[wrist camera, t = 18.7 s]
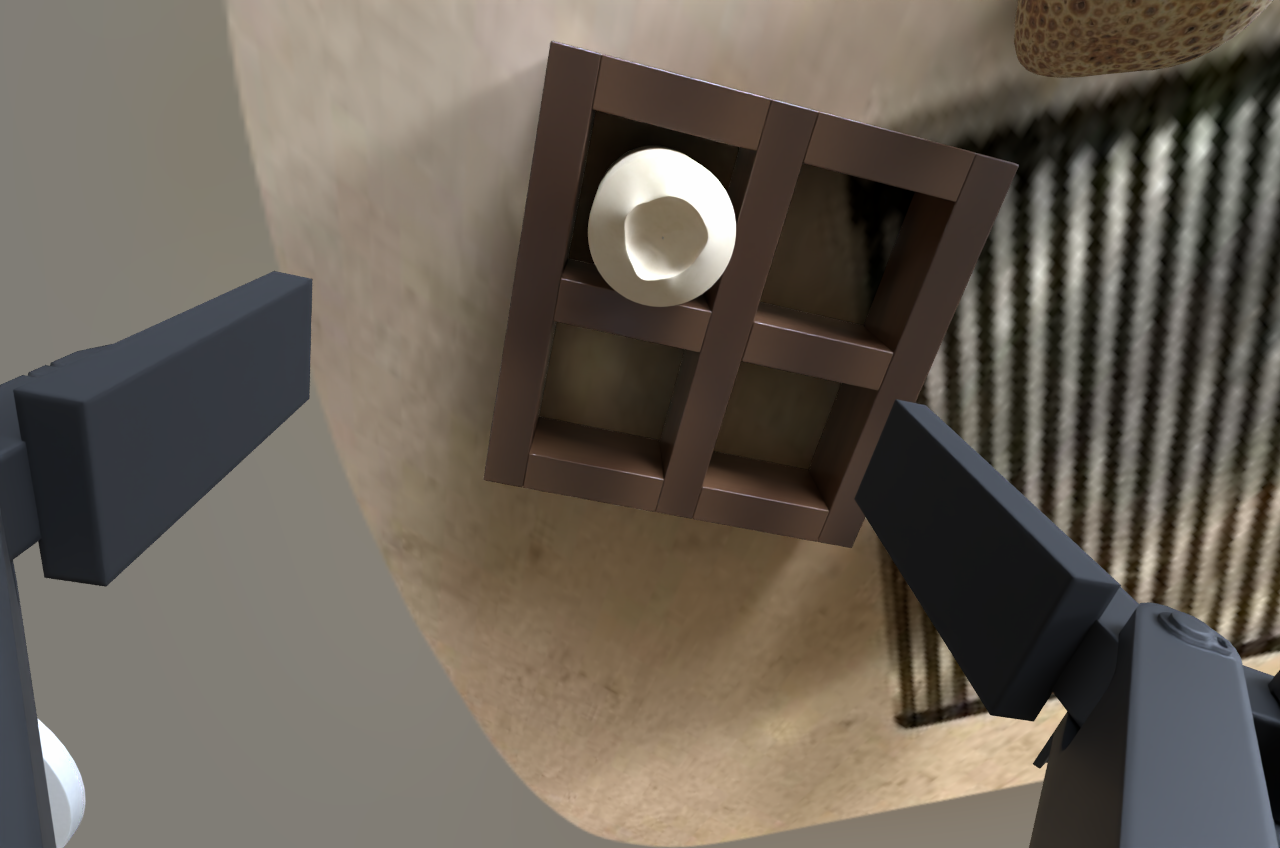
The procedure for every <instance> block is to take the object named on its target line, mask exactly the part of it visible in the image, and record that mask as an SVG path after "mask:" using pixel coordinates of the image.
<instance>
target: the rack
mask: <svg viewBox="0 0 1280 848" xmlns="http://www.w3.org/2000/svg"><path fill="white" fill-rule="evenodd" d="M595 111H600V112H604V113H608V114H611V115H615V116H619V117H623V118H627V119H631V120H635V121H639V122H643V123H647V124H651V125H655V126H659V127H663V128H667V129H670V130H674V131H678V132H682V133H686V134H690V135H694V136H698V137H702V138H706V139H710V140H714V141H718V142H722V143H725V144H729V145H733V146H737V147H740V148H739V151H738V155H737V159H736V162H735V166H734V170H733V173H732V177H731V181H730V184H729V188H728V192H727V194H728V196H729V198H730V201H731V203H732V206H733V210H734V214H735V221H736V238H735V245H734V249H733V253H732V256H731V258H730V261H729V263H728V265H727V267H726V269H725V270H724V272H723V273H722V275H721V276H720V278H719V279H718V280H717V281H716V282H715V283H714V284H713V285H712V286H711V287H710V288H709V289H708V290H707V291H705V292H704V293H703V294H701V295H700V296H698V297H696V298H694V299H692V300H690V301H688V302H685V303H682V304H679V305H674V306H667V307H655V306H647V305H642V304H639V303H636V302H633V301H631V300H629V299H627V298H625V297H624V296H622V295H621V294H619V293H618V292H616V291H615V290H614V289H613V288H612V287H611V286H610V285H609V284H608V283H607V282H606V281H605V280H604V279H603V277H602V276H601V274H600V273H599V271H598V269H597V267H596V265H595V264H591V263H587V262H582V261H578V260H573V259H568V257H569V252H570V247H571V241H572V236H573V230H574V225H575V220H576V214H577V209H578V203H579V198H580V193H581V187H582V182H583V176H584V171H585V166H586V160H587V155H588V149H589V144H590V138H591V133H592V128H593V122H594V117H595ZM803 163H804V164H808V165H812V166H816V167H820V168H824V169H828V170H832V171H836V172H840V173H843V174H847V175H851V176H855V177H859V178H863V179H867V180H871V181H875V182H879V183H883V184H887V185H891V186H895V187H899V188H902V189H906V190H910V191H914V192H915V193H914V195H913V198H912V201H911V203H910V206H909V208H908V211H907V214H906V216H905V219H904V222H903V224H902V227H901V229H900V232H899V235H898V237H897V240H896V242H895V245H894V248H893V250H892V253H891V255H890V258H889V261H888V263H887V266H886V269H885V271H884V274H883V276H882V279H881V282H880V284H879V287H878V289H877V292H876V295H875V297H874V300H873V303H872V305H871V308H870V310H869V313H868V316H867V318H866V321H865V323H864V326H863V325H859V324H855V323H850V322H846V321H842V320H837V319H833V318H828V317H824V316H820V315H815V314H811V313H806V312H802V311H798V310H793V309H789V308H784V307H780V306H776V305H771V304H767V303H762V302H760V299H761V295H762V292H763V289H764V286H765V283H766V279H767V276H768V273H769V270H770V266H771V263H772V260H773V257H774V254H775V250H776V247H777V244H778V241H779V238H780V234H781V231H782V228H783V225H784V221H785V218H786V215H787V212H788V209H789V205H790V202H791V199H792V196H793V193H794V189H795V186H796V183H797V180H798V176H799V173H800V170H801V167H802V164H803ZM1018 167H1019V165H1018V164H1016V163H1012V162H1009V161H1005V160H1001V159H997V158H993V157H990V156H986V155H982V154H978V153H975V152H971V151H967V150H963V149H960V148H956V147H952V146H948V145H945V144H941V143H937V142H933V141H929V140H926V139H922V138H918V137H914V136H911V135H907V134H903V133H899V132H895V131H892V130H888V129H884V128H880V127H877V126H873V125H869V124H865V123H861V122H858V121H854V120H850V119H846V118H843V117H839V116H835V115H831V114H827V113H824V112H818V111H816V110H812V109H808V108H805V107H801V106H797V105H793V104H789V103H786V102H782V101H778V100H774V99H770V98H767V97H763V96H759V95H755V94H752V93H748V92H744V91H740V90H737V89H733V88H729V87H725V86H721V85H718V84H714V83H710V82H706V81H703V80H699V79H695V78H691V77H687V76H684V75H680V74H676V73H672V72H669V71H665V70H661V69H657V68H653V67H650V66H646V65H642V64H638V63H635V62H631V61H627V60H623V59H619V58H616V57H612V56H608V55H604V54H603V55H601V54H600V53H597V52H593V51H589V50H585V49H582V48H578V47H574V46H570V45H566V44H563V43H559V42H555V41H551V43H550V49H549V56H548V62H547V69H546V75H545V82H544V88H543V95H542V101H541V108H540V114H539V121H538V127H537V134H536V141H535V147H534V154H533V160H532V167H531V173H530V180H529V186H528V193H527V199H526V206H525V212H524V219H523V225H522V232H521V238H520V245H519V251H518V258H517V264H516V271H515V277H514V284H513V290H512V297H511V303H510V310H509V316H508V323H507V329H506V336H505V342H504V349H503V355H502V362H501V368H500V375H499V382H498V388H497V395H496V401H495V408H494V414H493V421H492V427H491V434H490V440H489V447H488V453H487V460H486V466H485V473H484V480H486V481H491V482H497V483H502V484H507V485H513V486H518V487H523V488H528V489H534V490H539V491H544V492H550V493H555V494H561V495H566V496H571V497H577V498H582V499H588V500H593V501H598V502H604V503H609V504H615V505H620V506H625V507H631V508H636V509H642V510H647V511H652V512H659V513H664V514H669V515H675V516H680V517H686V518H693V519H696V520H702V521H707V522H712V523H718V524H723V525H729V526H734V527H739V528H745V529H750V530H756V531H761V532H766V533H772V534H777V535H783V536H788V537H793V538H799V539H804V540H810V541H815V542H817V541H818V542H821V543H827V544H832V545H837V546H843V547H848V548H852V546H853V544H854V542H855V539H856V537H857V535H858V532H859V530H860V528H861V526H862V523H863V521H864V519H865V515H864V514H863V512H862V511H861V509H860V507H859V506H858V504H857V503H856V501H855V500H854V498H855V496H856V494H857V491H858V489H859V486H860V484H861V481H862V479H863V477H864V474H865V472H866V469H867V467H868V465H869V462H870V460H871V457H872V455H873V452H874V450H875V448H876V445H877V443H878V440H879V438H880V435H881V433H882V431H883V428H884V426H885V423H886V421H887V419H888V416H889V414H890V411H891V409H892V406H893V404H894V402H895V399H897V400H902V401H907V402H912V403H915V402H916V400H917V398H918V395H919V393H920V391H921V388H922V386H923V384H924V382H925V379H926V377H927V375H928V372H929V370H930V368H931V366H932V363H933V361H934V359H935V356H936V354H937V352H938V350H939V347H940V345H941V343H942V340H943V338H944V336H945V334H946V331H947V329H948V327H949V324H950V322H951V320H952V318H953V315H954V313H955V311H956V308H957V306H958V304H959V302H960V299H961V297H962V295H963V292H964V290H965V288H966V286H967V283H968V281H969V279H970V276H971V274H972V272H973V270H974V267H975V265H976V263H977V260H978V258H979V256H980V254H981V251H982V249H983V247H984V244H985V242H986V240H987V238H988V235H989V233H990V231H991V228H992V226H993V224H994V222H995V219H996V217H997V215H998V212H999V210H1000V208H1001V206H1002V203H1003V201H1004V199H1005V196H1006V194H1007V192H1008V190H1009V187H1010V185H1011V183H1012V180H1013V178H1014V176H1015V174H1016V171H1017V169H1018ZM556 322H560V323H565V324H570V325H574V326H579V327H583V328H588V329H593V330H597V331H602V332H607V333H611V334H616V335H621V336H625V337H630V338H635V339H639V340H644V341H648V342H653V343H658V344H662V345H667V346H672V347H676V348H681V349H685V350H684V354H683V357H682V361H681V365H680V368H679V372H678V376H677V379H676V383H675V387H674V390H673V394H672V398H671V401H670V405H669V409H668V413H667V416H666V420H665V424H664V427H663V431H662V435H661V438H660V441H659V440H655V439H650V438H645V437H640V436H635V435H630V434H625V433H619V432H614V431H609V430H604V429H599V428H594V427H589V426H584V425H579V424H574V423H569V422H564V421H559V420H554V419H549V418H544V417H539V414H540V409H541V403H542V398H543V393H544V387H545V382H546V376H547V371H548V366H549V360H550V355H551V349H552V344H553V339H554V333H555V328H556ZM741 361H743V362H747V363H752V364H756V365H761V366H765V367H770V368H775V369H779V370H784V371H789V372H793V373H798V374H803V375H807V376H812V377H817V378H821V379H826V380H830V381H835V382H840V383H842V384H841V386H840V389H839V391H838V394H837V397H836V399H835V402H834V404H833V407H832V410H831V412H830V415H829V417H828V420H827V423H826V425H825V428H824V431H823V433H822V436H821V438H820V441H819V444H818V446H817V449H816V451H815V454H814V457H813V459H812V462H811V465H810V467H809V470H806V469H801V468H796V467H791V466H786V465H781V464H776V463H771V462H766V461H761V460H755V459H750V458H745V457H740V456H735V455H730V454H725V453H720V452H715V451H713V450H714V447H715V443H716V440H717V437H718V434H719V430H720V427H721V424H722V421H723V418H724V414H725V411H726V408H727V405H728V402H729V398H730V395H731V392H732V389H733V385H734V382H735V379H736V376H737V373H738V369H739V366H740V363H741Z"/></svg>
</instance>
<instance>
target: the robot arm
mask: <svg viewBox="0 0 1280 848" xmlns="http://www.w3.org/2000/svg"><path fill="white" fill-rule="evenodd" d="M311 314H312V279H310V278H305V277H300V276H296V275H291V274H286V273H281V272H276V271H273V272H271V273H269V274H267V275H265V276H262V277H260V278H258V279H256V280H253V281H251V282H249V283H247V284H245V285H242V286H240V287H238V288H236V289H234V290H232V291H229V292H227V293H225V294H223V295H220V296H218V297H216V298H214V299H211V300H209V301H207V302H205V303H203V304H201V305H198V306H196V307H194V308H192V309H189V310H187V311H185V312H183V313H181V314H178V315H176V316H174V317H172V318H170V319H167V320H165V321H163V322H161V323H159V324H156V325H154V326H152V327H150V328H148V329H145V330H144V331H141V332H139V333H137V334H134V335H132V336H130V337H128V338H125V339H123V340H121V341H119V342H117V343H115V344H110V345H105V346H101V347H95V348H90V349H86V350H81V351H77V352H74V353H72V354H70V355H67V356H65V357H63V358H61V359H58V360H56V361H54V362H52V363H51V365H50V366H47V365H45V366H42V367H40V368H38V369H35V370H33V371H31V372H29V373H28V376H25V375H22V376H19V377H17V378H15V379H12V380H10V381H8V382H6V383H3V384H1V385H0V848H56V842H55V835H54V828H53V821H52V815H51V808H50V801H49V794H48V788H47V781H46V774H45V768H44V761H43V754H42V747H41V741H40V734H39V727H38V720H37V714H36V707H35V701H34V693H33V687H32V680H31V673H30V667H29V660H28V653H27V646H26V640H25V633H24V626H23V619H22V613H21V606H20V599H19V592H18V586H17V580H16V574H15V570H14V564H13V559H14V558H16V557H17V556H18V555H20V554H21V553H23V552H24V551H25V550H27V549H28V548H29V547H31V546H32V545H33V544H35V543H36V542H37V541H38V542H39V548H40V554H41V559H42V565H43V571H44V577H45V578H51V579H59V580H65V581H72V582H79V583H86V584H92V585H99V586H107V585H108V584H109V583H110V582H111V581H113V580H114V579H115V578H116V577H117V576H118V575H119V574H120V573H121V572H122V571H123V570H124V569H125V568H127V566H129V565H130V564H131V563H132V562H133V561H134V560H135V559H136V558H137V557H139V556H140V555H141V554H142V553H143V552H144V551H145V550H146V549H147V548H148V547H149V546H150V545H151V544H152V543H154V542H155V541H156V540H157V539H158V538H159V537H160V536H161V535H162V534H163V533H164V532H166V531H167V530H168V529H169V528H170V527H171V526H172V525H173V524H174V523H175V522H176V521H177V520H178V519H180V518H181V517H182V516H183V515H184V514H185V513H186V512H187V511H188V510H189V509H190V508H191V507H192V506H194V505H195V504H196V503H197V502H198V501H199V500H200V499H201V498H202V497H203V496H204V495H206V494H207V493H208V492H209V491H210V490H211V489H212V488H213V487H214V486H215V485H216V484H217V483H218V482H220V481H221V480H222V479H223V478H224V477H225V476H226V475H227V474H228V473H229V472H230V471H232V470H233V469H234V468H235V467H236V466H237V465H238V464H239V463H240V462H241V461H242V460H243V459H244V458H246V456H248V455H249V454H250V453H251V452H252V451H253V450H254V449H255V448H256V447H257V446H258V445H259V444H261V443H262V442H263V441H264V440H265V439H266V438H267V437H268V436H269V435H270V434H271V433H273V432H274V431H275V430H276V429H277V428H278V427H279V426H280V425H281V424H282V423H283V422H284V421H286V420H287V419H288V418H289V417H290V416H291V415H292V414H293V413H294V412H295V411H296V410H297V409H298V408H299V407H301V406H302V405H303V404H304V403H305V402H306V401H307V400H308V399H309V389H310V388H309V387H310V352H311ZM854 500H855V501H856V503H857V504H858V506H859V507H860V509H861V511H862V512H863V514H864V515H865V517H866V519H867V520H868V522H869V523H870V525H871V526H872V528H873V530H874V531H875V533H876V534H877V536H878V538H879V539H880V541H881V542H882V544H883V546H884V547H885V549H886V550H887V552H888V553H889V555H890V557H891V558H892V560H893V561H894V563H895V565H896V566H897V568H898V569H899V571H900V572H901V574H902V576H903V577H904V579H905V580H906V582H907V584H908V585H909V587H910V588H911V590H912V591H913V593H914V595H915V596H916V598H917V599H918V601H919V603H920V604H921V606H922V607H923V609H924V610H925V612H926V614H927V615H928V617H929V618H930V620H931V622H932V623H933V625H934V626H935V628H936V630H937V631H938V633H939V634H940V636H941V637H942V639H943V641H944V642H945V644H946V645H947V647H948V649H949V650H950V652H951V653H952V655H953V656H954V658H955V660H956V661H957V663H958V664H959V666H960V668H961V669H962V671H963V672H964V674H965V675H966V677H967V679H968V680H969V682H970V683H971V685H972V687H973V688H974V690H975V691H976V693H977V694H978V696H979V698H980V699H981V701H982V702H983V704H984V706H985V707H986V709H987V710H988V712H989V714H990V715H993V716H1000V717H1007V718H1014V719H1021V720H1028V721H1034V720H1035V719H1036V717H1037V716H1038V714H1039V713H1040V711H1041V709H1042V708H1043V706H1044V705H1045V703H1046V702H1047V700H1048V699H1049V697H1050V695H1051V694H1052V692H1053V693H1054V694H1055V696H1056V697H1057V698H1058V699H1059V701H1060V702H1061V703H1062V705H1063V706H1064V707H1065V709H1066V710H1067V711H1068V712H1067V713H1066V715H1065V716H1064V718H1063V719H1062V721H1061V722H1060V724H1059V725H1058V727H1057V728H1056V730H1055V731H1054V733H1053V734H1052V736H1051V737H1050V739H1049V740H1048V742H1047V743H1046V745H1045V746H1044V748H1043V749H1042V751H1041V752H1040V754H1039V755H1038V757H1037V758H1036V760H1035V761H1034V763H1033V765H1035V766H1036V767H1038V768H1041V767H1042V766H1043V765H1044V764H1045V763H1048V764H1047V769H1046V773H1045V778H1044V782H1043V787H1042V791H1041V796H1040V800H1039V805H1038V809H1037V814H1036V819H1035V823H1034V828H1033V832H1032V837H1031V841H1030V846H1029V848H1280V670H1279V672H1278V673H1277V674H1276V675H1275V676H1272V675H1269V674H1266V673H1263V672H1260V671H1258V670H1255V669H1252V668H1249V667H1246V666H1243V665H1242V661H1241V658H1240V656H1239V654H1238V652H1237V651H1236V649H1235V648H1234V647H1233V646H1232V645H1231V643H1230V642H1229V641H1228V640H1227V639H1225V638H1224V637H1223V636H1221V635H1220V634H1218V633H1217V632H1215V631H1214V630H1213V629H1211V628H1210V627H1209V626H1208V625H1206V624H1205V623H1204V622H1202V621H1200V620H1199V619H1197V618H1195V617H1193V616H1191V615H1189V614H1186V613H1184V612H1180V611H1177V610H1175V609H1173V608H1170V607H1168V606H1164V605H1160V604H1155V603H1140V604H1138V603H1137V602H1136V601H1135V600H1134V599H1133V598H1132V597H1131V596H1130V595H1129V594H1128V593H1127V592H1125V591H1124V590H1123V589H1122V588H1121V587H1120V586H1121V585H1120V584H1119V583H1118V582H1117V581H1116V580H1115V579H1114V578H1112V577H1111V576H1110V575H1109V574H1108V573H1107V572H1106V571H1105V570H1104V569H1103V568H1102V567H1101V566H1099V565H1098V564H1097V563H1096V562H1095V561H1094V560H1093V559H1092V558H1091V557H1090V556H1089V555H1087V554H1086V553H1085V552H1084V551H1083V550H1082V549H1081V548H1080V547H1079V546H1078V545H1077V544H1076V543H1074V542H1073V541H1072V540H1071V539H1070V538H1069V537H1068V536H1067V535H1066V534H1065V533H1064V532H1063V531H1061V530H1060V529H1059V528H1058V527H1057V526H1056V525H1055V524H1054V523H1053V522H1052V521H1051V520H1050V519H1048V518H1047V517H1046V516H1045V515H1044V514H1043V513H1042V512H1041V511H1040V510H1039V509H1038V508H1037V507H1035V506H1034V505H1033V504H1032V503H1031V502H1030V501H1029V500H1028V499H1027V498H1026V497H1025V496H1024V495H1022V494H1021V493H1020V492H1019V491H1018V490H1017V489H1016V488H1015V487H1014V486H1013V485H1012V484H1010V483H1009V482H1008V481H1007V480H1006V479H1005V478H1004V477H1003V476H1002V475H1001V474H1000V473H999V472H997V471H996V470H995V469H994V468H993V467H992V466H991V465H990V464H989V463H988V462H987V461H986V460H984V459H983V458H982V457H981V456H980V455H979V454H978V453H977V452H976V451H975V450H974V449H973V448H971V447H970V446H969V445H968V444H967V443H966V442H965V441H964V440H963V439H962V438H961V437H960V436H958V435H957V434H956V433H955V432H954V431H953V430H952V429H951V428H950V427H949V426H948V425H947V424H945V423H944V422H943V421H942V420H941V419H940V418H939V417H938V416H937V415H936V414H935V413H933V412H932V411H931V410H930V409H929V408H928V407H927V406H926V405H921V404H917V403H912V402H907V401H902V400H897V399H895V402H894V404H893V406H892V409H891V411H890V414H889V416H888V419H887V421H886V423H885V426H884V428H883V431H882V433H881V435H880V438H879V440H878V443H877V445H876V448H875V450H874V452H873V455H872V457H871V460H870V462H869V465H868V467H867V469H866V472H865V474H864V477H863V479H862V481H861V484H860V486H859V489H858V491H857V494H856V496H855V498H854Z"/></svg>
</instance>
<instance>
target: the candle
mask: <svg viewBox="0 0 1280 848" xmlns="http://www.w3.org/2000/svg"><path fill="white" fill-rule="evenodd" d="M735 238H736V221H735V214H734V210H733V206H732V203H731V201H730V198H729V196H728V194H727V192H726V190H725V189H724V187H723V186H722V184H721V183H720V182H719V180H718V179H717V178H716V177H715V176H714V175H713V174H712V173H711V172H710V171H708V170H707V169H706V168H704V167H703V166H702V165H700V164H699V163H697V162H696V161H694V160H693V159H691V158H690V157H688V156H687V155H685V154H683V153H681V152H680V151H678V150H675V149H673V148H670V147H666V146H660V145H647V146H642V147H638V148H635V149H632V150H630V151H628V152H626V153H624V154H623V155H622V156H620V157H619V158H618V159H617V160H616V161H614V162H613V163H612V165H611V166H610V167H609V168H608V170H607V171H606V173H605V174H604V176H603V178H602V180H601V182H600V184H599V187H598V190H597V193H596V196H595V199H594V202H593V205H592V209H591V212H590V217H589V222H588V241H589V247H590V252H591V255H592V258H593V261H594V263H595V265H596V267H597V269H598V271H599V273H600V274H601V276H602V277H603V279H604V280H605V281H606V282H607V283H608V284H609V285H610V286H611V287H612V288H613V289H614V290H615V291H616V292H618V293H619V294H621V295H622V296H624V297H625V298H627V299H629V300H631V301H633V302H636V303H639V304H642V305H647V306H655V307H667V306H674V305H679V304H682V303H685V302H688V301H690V300H692V299H694V298H696V297H698V296H700V295H701V294H703V293H704V292H705V291H707V290H708V289H709V288H710V287H711V286H712V285H713V284H714V283H715V282H716V281H717V280H718V279H719V278H720V276H721V275H722V273H723V272H724V270H725V269H726V267H727V265H728V263H729V261H730V258H731V256H732V253H733V249H734V245H735Z"/></svg>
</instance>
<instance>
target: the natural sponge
mask: <svg viewBox="0 0 1280 848" xmlns="http://www.w3.org/2000/svg"><path fill="white" fill-rule="evenodd" d="M1272 1H1273V0H1018V7H1017V12H1016V17H1015V35H1014V45H1015V50H1016V54H1017V57H1018V60H1019V62H1020V63H1021V64H1022V65H1023V66H1024V67H1025V68H1026V69H1027V70H1028V71H1030V72H1033V73H1035V74H1037V75H1043V76H1048V77H1061V78H1067V77H1083V76H1093V75H1102V74H1112V73H1122V72H1133V71H1142V70H1155V69H1161V68H1166V67H1172V66H1175V65H1179V64H1183V63H1186V62H1188V61H1191V60H1193V59H1196V58H1198V57H1200V56H1202V55H1204V54H1206V53H1208V52H1210V51H1212V50H1214V49H1215V48H1217V47H1219V46H1220V45H1222V44H1224V43H1225V42H1227V41H1228V40H1230V39H1232V38H1233V37H1234V36H1236V35H1237V34H1238V33H1240V32H1241V31H1242V30H1244V29H1245V28H1246V27H1247V26H1248V25H1249V24H1250V23H1251V22H1252V21H1254V20H1255V19H1256V18H1257V17H1258V16H1259V15H1260V14H1261V13H1262V12H1263V11H1264V10H1265V9H1266V8H1267V7H1268V5H1269V4H1270V3H1271V2H1272Z"/></svg>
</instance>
